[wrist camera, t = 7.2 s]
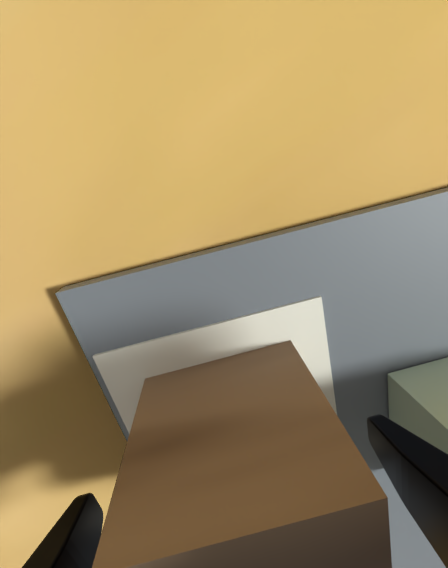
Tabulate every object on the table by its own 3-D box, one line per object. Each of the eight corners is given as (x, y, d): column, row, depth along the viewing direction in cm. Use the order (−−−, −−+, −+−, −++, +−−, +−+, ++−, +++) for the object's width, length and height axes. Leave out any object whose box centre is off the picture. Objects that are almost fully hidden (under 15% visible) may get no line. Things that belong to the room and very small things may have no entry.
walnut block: (310, 447, 11) (397, 644, 6) (187, 480, 11) (179, 703, 6) (290, 340, 9) (387, 497, 4) (144, 378, 9) (89, 577, 4)
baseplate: (479, 545, 15) (492, 561, 15) (218, 616, 15) (219, 635, 15) (525, 167, 9) (552, 165, 8) (64, 286, 9) (53, 294, 8)
